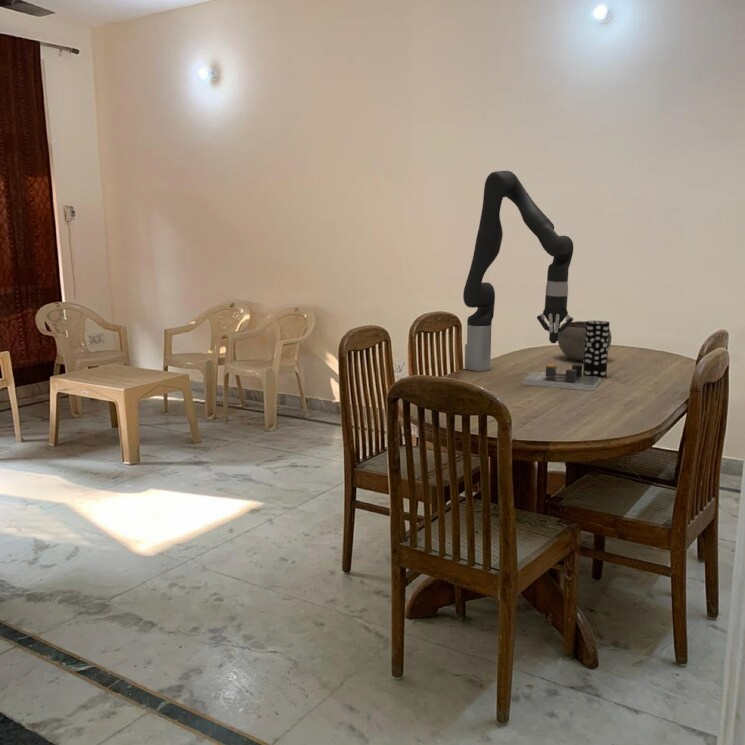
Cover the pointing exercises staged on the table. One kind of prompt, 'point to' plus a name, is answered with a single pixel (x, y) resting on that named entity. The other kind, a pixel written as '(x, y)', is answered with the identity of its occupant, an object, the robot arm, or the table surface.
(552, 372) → the block
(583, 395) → the table surface
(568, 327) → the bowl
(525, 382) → the panel
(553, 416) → the table surface
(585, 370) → the spotted tube
